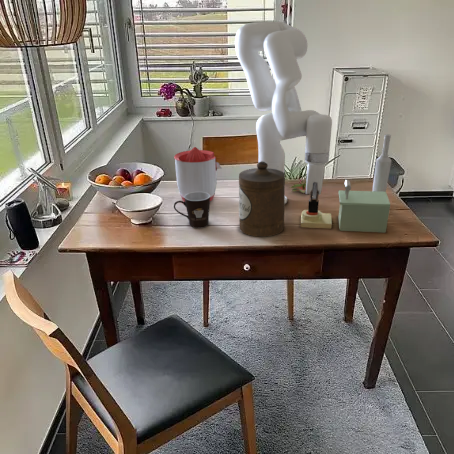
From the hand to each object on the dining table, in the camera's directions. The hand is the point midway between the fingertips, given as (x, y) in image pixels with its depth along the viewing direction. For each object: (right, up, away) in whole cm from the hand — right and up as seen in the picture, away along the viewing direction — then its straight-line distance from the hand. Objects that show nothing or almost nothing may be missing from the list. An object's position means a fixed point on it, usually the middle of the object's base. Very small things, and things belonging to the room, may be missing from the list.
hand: (312, 211), depth 159 cm
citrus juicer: (-39, +9, +23) cm, 46 cm away
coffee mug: (-40, -4, +4) cm, 40 cm away
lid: (+16, +3, -5) cm, 17 cm away
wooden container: (-17, -6, -1) cm, 18 cm away
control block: (+1, -3, +2) cm, 4 cm away
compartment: (+16, -4, 0) cm, 17 cm away
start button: (0, -1, +1) cm, 2 cm away
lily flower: (+2, +14, +30) cm, 33 cm away
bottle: (+26, +5, +14) cm, 30 cm away
